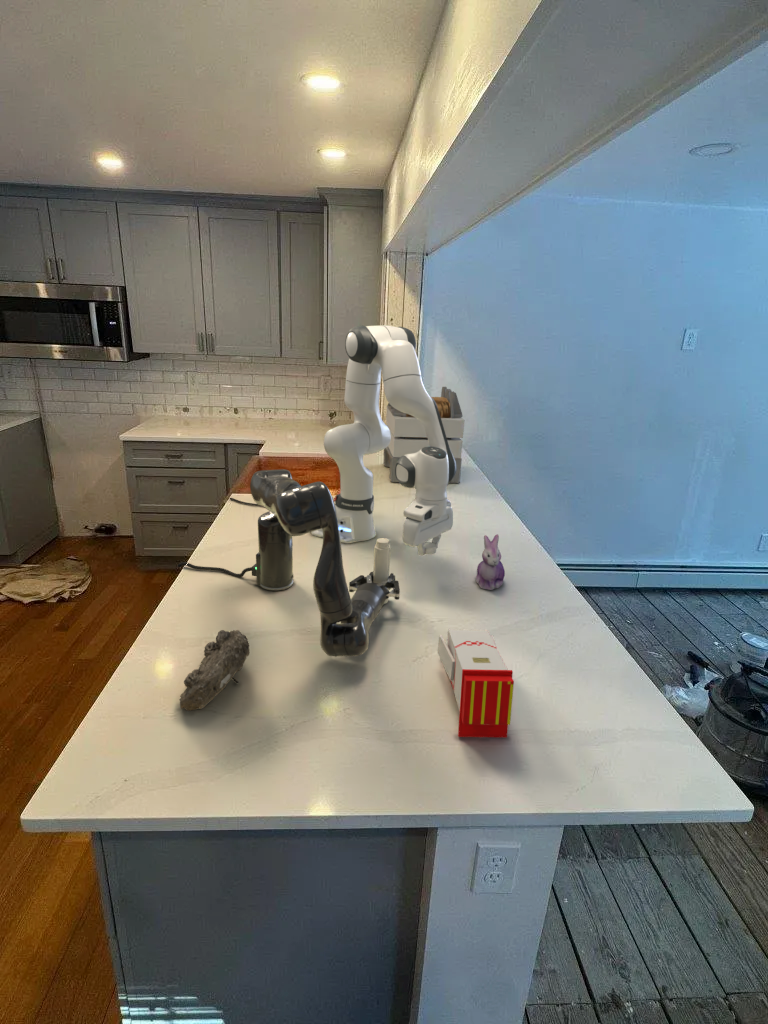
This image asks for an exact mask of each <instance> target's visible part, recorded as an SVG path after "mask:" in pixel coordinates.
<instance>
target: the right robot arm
mask: <svg viewBox="0 0 768 1024" xmlns="http://www.w3.org/2000/svg"><path fill="white" fill-rule="evenodd" d="M344 340H345V341H344V349H345V353H346V355H347V356H348V362H347V368H346V373H345V386H344V399H343V401H344V405H345V406H346V408H347V409H348V410H350V411H351V412H352V413H353V417H354V420H353V423H347V424H341V425H338V426H335V427H332V428H331V429H328V430H327V431H326V432H325V434H324V437H323V447H324V450H325V453H326V454H327V455H328V456H329V458H330V459H331V458H332V460H334V462H335V463H336V466H337V468H338V472H339V481H340V484H339V485H340V488H339V489H340V490H339V491H338V492H337V494H336V495H335V496H334V497H333V500H334V503H335V507H336V512H337V519H338V526H339V534H340V542H341V543H343V544H352V543H357V542H365V541H368V540H372V539H373V538H375V537H376V535H377V532H376V528H375V523H374V513H373V512H374V509H375V496H374V474H373V472H372V471H371V469H369V468H368V467H366V466H365V463H364V456H368V455H372V454H377V453H379V452H381V451H384V449H385V448H387V447H388V445H389V444H390V440H391V433H390V430H389V428H388V426H387V423H386V422H384V421H383V419H382V415H381V412H380V396H381V395H380V392H381V383H383V391H384V395H385V399H386V401H387V402H388V403H389V404H390V405H391V406H392V407H394V408H395V409H397V410H398V411H400V412H403V413H406V414H409V415H411V416H413V417H415V418H417V419H418V420H419V421H421V423H422V424H423V426H424V428H425V431H426V435H427V438H428V442H429V445H430V446H428V447H424V448H422V449H420V451H419V452H416V453H412V454H406V455H403V456H401V457H400V458H399V459H398V461H397V463H396V467H395V475H396V479H397V480H398V482H397V483H399V484H400V485H401V486H402V487H404V488H407V489H411V488H413V489H415V494H414V495H415V496H414V499H413V500H412V501H411V502H410V503H409V504H408V506H406V507H405V508H404V509H403V516H404V517H405V519H404V521H403V525H402V526H403V527H402V528H403V529H402V542H403V543H404V545H406V546H409V547H412V548H415V547H416V548H417V555H418V556H421V557H423V556H425V555H427V554H426V549H424V545H425V542H429V540H431V542H432V543H435V544H436V545H437V548H436V550H438V548H439V542H440V540H441V538H442V535H443V534H444V533H447V532H448V531H450V530H452V528H453V525H454V510H453V507H452V502H451V500H449V499H448V491H447V489H448V488H447V487H448V485H449V484H451V483H450V482H451V480H452V479H453V478H454V476H455V474H456V470H457V465H456V461H455V459H454V456H453V454H452V452H451V450H450V447H449V444H448V441H447V437H446V434H445V430H444V427H443V424H442V420H441V417H440V413H439V410H438V407H437V405H436V402H435V401H434V399H433V398H432V397H433V396H430V394H429V393H428V391H427V390H426V388H425V385H424V383H423V378H422V371H421V367H420V362H419V358H418V354H417V352H416V349H417V340H416V337H415V335H414V332H413V331H412V330H410V329H409V328H407V327H404V326H394V325H386V324H385V325H384V324H379V325H357V326H353V327H352V328H350V329H349V331H348V332H347V334H346V336H345V339H344ZM381 381H382V382H381ZM229 500H230V501H233V502H236V503H240V504H242V505H248V506H256V507H264V506H262V505H258V504H257V503H254V502H253V503H252V502H246V501H241V500H239V499H237V498H233V497H229ZM264 508H265V507H264ZM310 533H311V536H315V537H319V538H323V530H322V529H319V530H316V531H313V532H310Z"/></svg>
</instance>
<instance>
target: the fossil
mask: <svg viewBox="0 0 768 1024" xmlns="http://www.w3.org/2000/svg"><path fill="white" fill-rule="evenodd" d="M203 653H204V654H203V656H204V658H203V659H202V660H201V662H200V664H199V666H198V669H197V668H196V669H193V670H192V671H191V672H189V673H188V674H187V675H186V677H185V678H184V680H183V684H184V686H185V687H186V688H185V689H184V690H183V692H182V693H181V694H180V696H179V697H180V698H179V704H180V709H185V710H186V712H187V711H188V712H191V711H194V710H195V711H196V710H199V709H200V710H202V709H204V708H205V707H206V706H207V705H208V704H209V703H210V702H211V701H213V700H214V699H215V697H217V696H218V695H219V694H220V693H221V692H222V691H223V690H225V689H226V687H227V686H228V683H229V682H231V680H232V681H233V682H234V683H235V684H239V681H238V680H237V679H236V677H234V676H235V674H236V673H238V672H240V670H241V669H242V668H243V666H244V663H245V661H246V660H247V657H249V656H250V642H249V639H248V637H247V636H246V635H245V634H243V633H242V632H241V631H240V630H239V629H235V630H234V629H233V630H230V631H228V630H224V629H220V630H219V631H218V632H217V635H216V637H215V641H210V642H207V643H206V644H205V646H204V650H203Z"/></svg>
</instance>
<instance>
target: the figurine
mask: <svg viewBox="0 0 768 1024" xmlns="http://www.w3.org/2000/svg"><path fill="white" fill-rule="evenodd" d="M499 539H500V536H499V534H495V535H494V536H493V538H492V540H491V539H490V538H489V536H488V535H487V534H484V536H483V544H484V545H483V547H484V549H483V551H482V553H481V558H482V560H481V561H480V562H479V563H478V564H477V568H476V576H475V577H476V578H475V583H476V584H477V585H478V586H479V588H480V589H483V590H489V591H490V590H491V591H493V590H494V589H499V588H500V587H501V586H502V585H503V583H504V579H505V575H506V571H505V567H504V564H503V562H502V561H501V560H502V554H501V550H500V549H499Z"/></svg>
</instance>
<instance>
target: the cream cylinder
mask: <svg viewBox="0 0 768 1024" xmlns="http://www.w3.org/2000/svg"><path fill="white" fill-rule="evenodd" d="M373 548H374V549H373V571H372V572H373V582H374V583H381V582H382V581H384V580H385V581H386V580H387V579H388V577H389V576H390V566H391V565H390V564H391V545H390V540H389V539H388V538H386V537H380V538H377V539H376V544H375V545H374V547H373ZM388 601H389V598H388V599H386V600H385V602H384V604H383V605H386V604H387V603H388Z"/></svg>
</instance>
